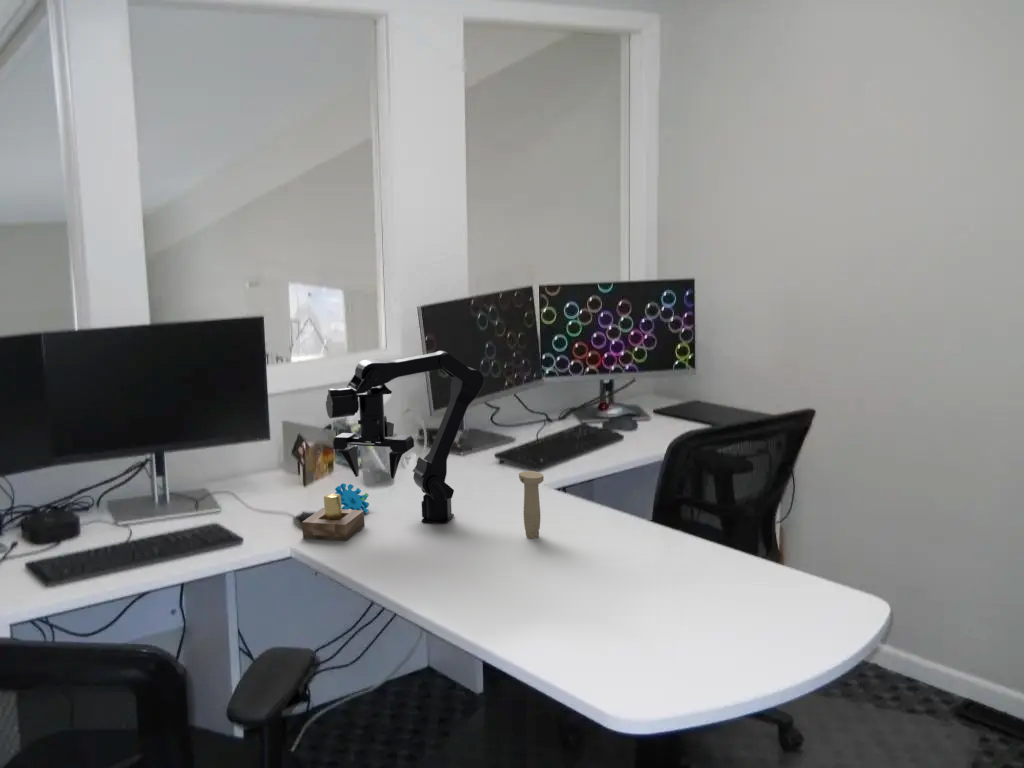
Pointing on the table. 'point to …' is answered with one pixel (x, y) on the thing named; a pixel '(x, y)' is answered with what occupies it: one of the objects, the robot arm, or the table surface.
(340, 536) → the socket block
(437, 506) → the robot arm
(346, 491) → the gear
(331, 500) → the pin
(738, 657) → the table surface
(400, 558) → the table surface
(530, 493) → the handle
